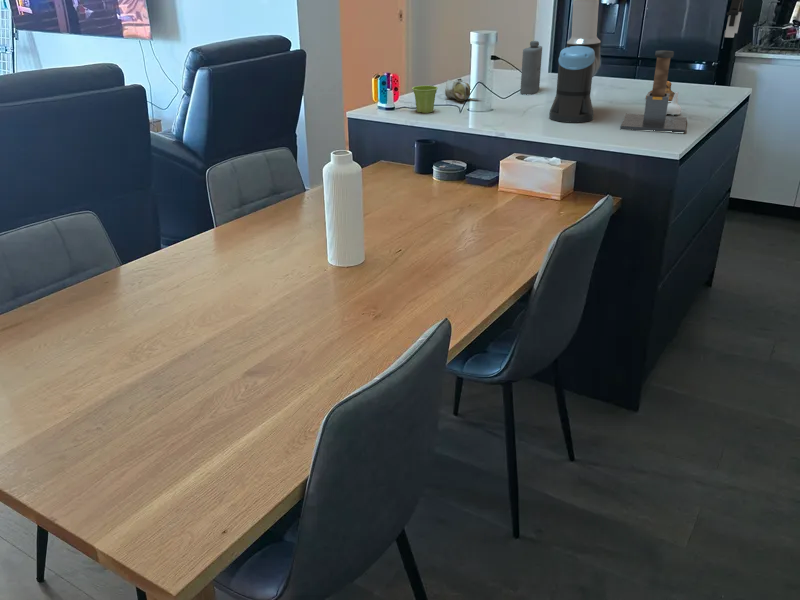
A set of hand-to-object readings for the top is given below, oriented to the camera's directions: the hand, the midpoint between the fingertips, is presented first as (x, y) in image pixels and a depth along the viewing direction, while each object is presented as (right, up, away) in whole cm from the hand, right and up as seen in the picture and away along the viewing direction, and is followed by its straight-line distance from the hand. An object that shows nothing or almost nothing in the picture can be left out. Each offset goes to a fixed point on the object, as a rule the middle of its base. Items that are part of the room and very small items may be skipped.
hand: (731, 35), depth 228 cm
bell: (-6, -9, +45) cm, 47 cm away
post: (-23, -26, +6) cm, 35 cm away
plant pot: (-99, -17, +31) cm, 106 cm away
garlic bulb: (-11, -21, +21) cm, 32 cm away
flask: (-54, 0, +64) cm, 84 cm away
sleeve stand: (-23, -28, +7) cm, 37 cm away
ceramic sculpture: (-85, -7, +50) cm, 99 cm away
